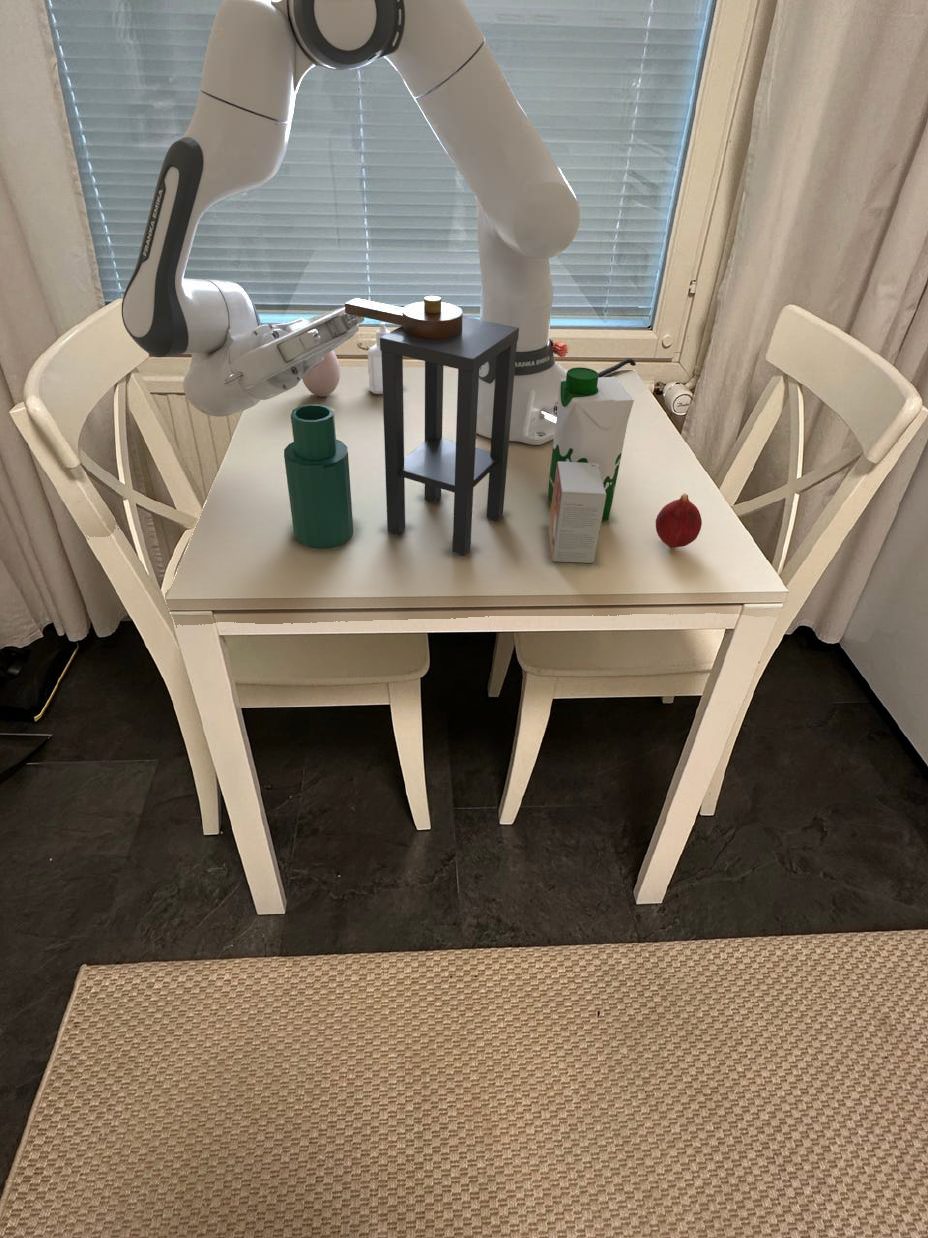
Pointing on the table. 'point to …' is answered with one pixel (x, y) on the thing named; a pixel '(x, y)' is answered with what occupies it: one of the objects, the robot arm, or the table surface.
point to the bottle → (318, 479)
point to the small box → (576, 512)
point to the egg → (323, 376)
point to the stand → (448, 459)
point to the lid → (414, 316)
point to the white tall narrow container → (376, 362)
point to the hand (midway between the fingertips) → (338, 325)
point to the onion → (678, 522)
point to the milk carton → (591, 426)
